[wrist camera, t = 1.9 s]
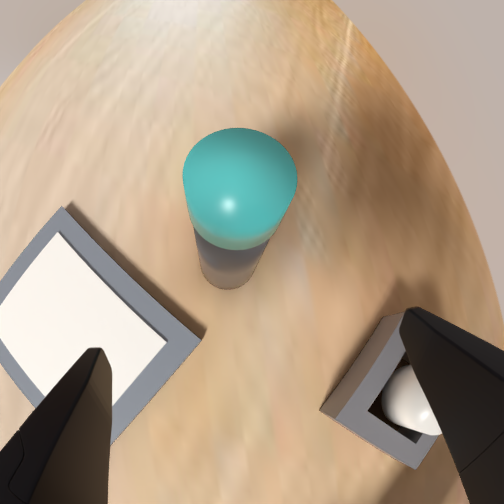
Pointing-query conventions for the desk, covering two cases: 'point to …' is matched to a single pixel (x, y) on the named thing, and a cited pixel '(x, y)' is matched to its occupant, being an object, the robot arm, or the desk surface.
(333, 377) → the desk surface
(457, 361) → the robot arm
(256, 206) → the ball
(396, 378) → the button
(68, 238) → the pad
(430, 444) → the button housing
